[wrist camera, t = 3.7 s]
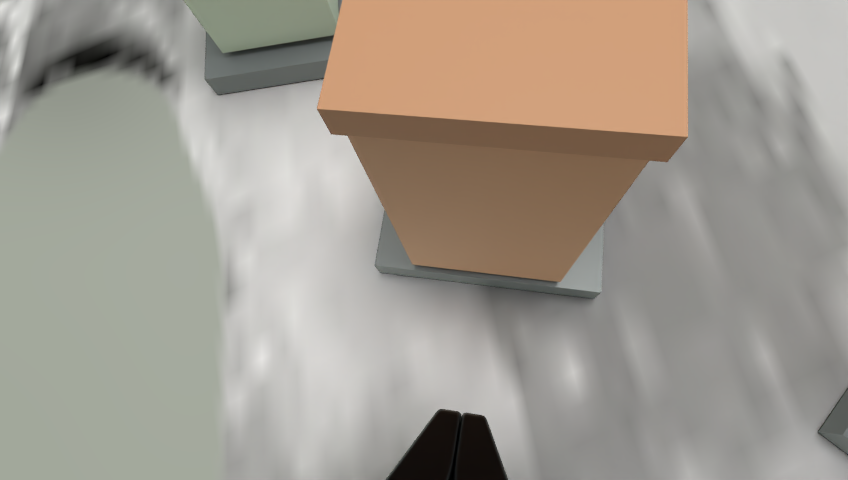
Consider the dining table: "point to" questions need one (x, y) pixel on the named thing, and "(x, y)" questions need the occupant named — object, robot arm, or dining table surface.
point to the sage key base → (266, 64)
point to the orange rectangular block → (506, 119)
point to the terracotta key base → (577, 281)
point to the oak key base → (838, 425)
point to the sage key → (264, 21)
